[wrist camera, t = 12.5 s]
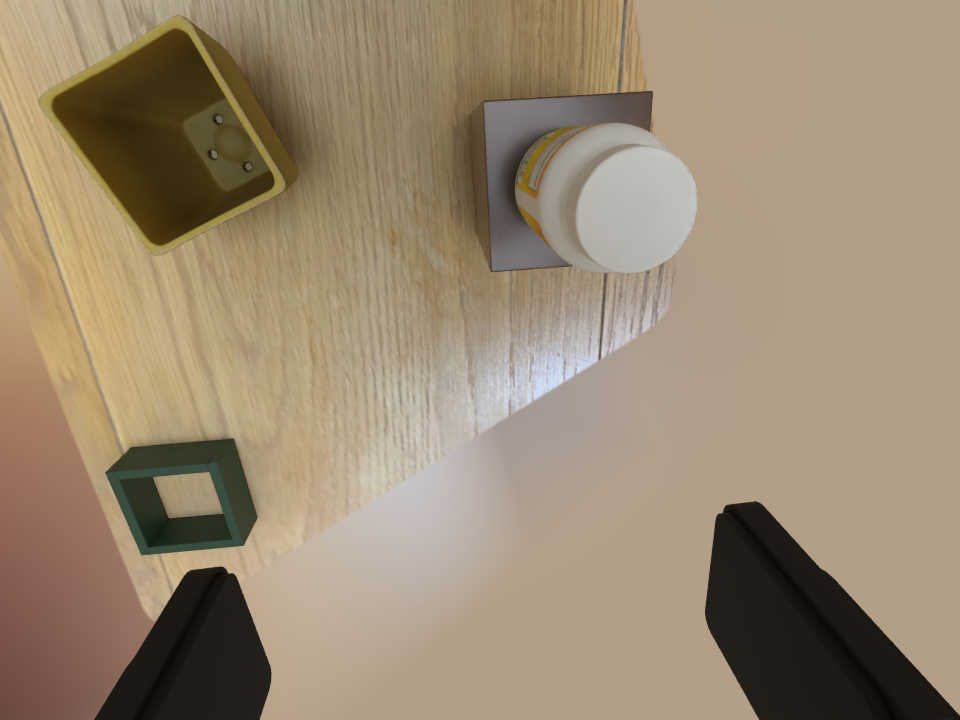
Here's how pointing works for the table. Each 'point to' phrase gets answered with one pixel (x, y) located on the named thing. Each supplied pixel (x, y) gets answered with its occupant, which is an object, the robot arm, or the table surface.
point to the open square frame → (193, 532)
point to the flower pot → (171, 134)
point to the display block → (500, 149)
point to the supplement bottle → (606, 197)
